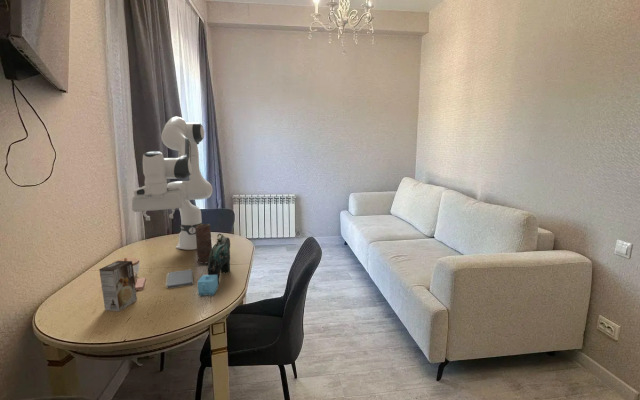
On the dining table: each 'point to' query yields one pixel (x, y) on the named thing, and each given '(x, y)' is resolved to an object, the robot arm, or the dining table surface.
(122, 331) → the dining table surface
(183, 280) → the grey ring notebook
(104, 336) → the dining table surface
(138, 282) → the light switch
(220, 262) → the teal spotted shape
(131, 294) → the coffee box
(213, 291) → the teapot
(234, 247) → the dining table surface
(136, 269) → the lidded jar
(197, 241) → the candle
